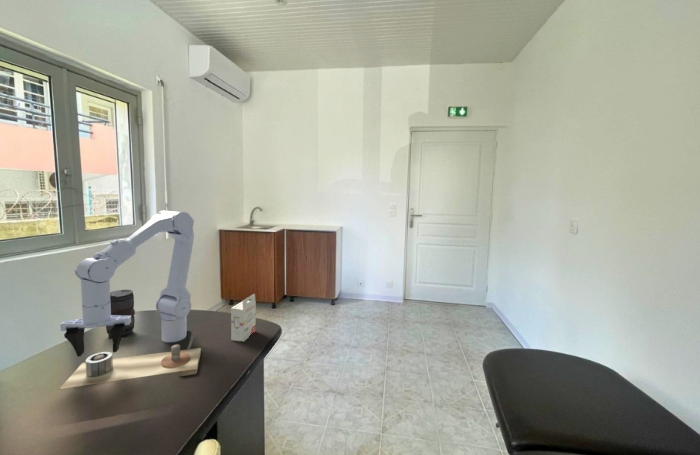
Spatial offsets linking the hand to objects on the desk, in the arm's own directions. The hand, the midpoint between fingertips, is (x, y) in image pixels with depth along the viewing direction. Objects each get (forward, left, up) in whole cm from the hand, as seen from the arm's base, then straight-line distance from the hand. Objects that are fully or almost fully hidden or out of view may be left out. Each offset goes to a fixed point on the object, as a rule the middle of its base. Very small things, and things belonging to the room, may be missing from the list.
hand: (98, 352), depth 80 cm
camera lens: (-26, -3, -7) cm, 27 cm away
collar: (0, 0, -5) cm, 5 cm away
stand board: (0, +9, -7) cm, 11 cm away
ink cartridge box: (-14, +37, -7) cm, 40 cm away
